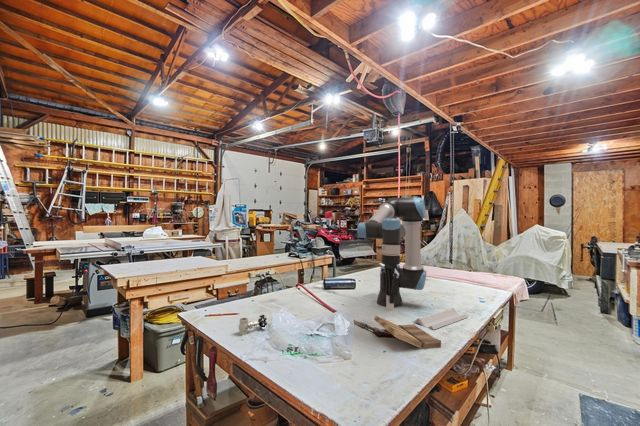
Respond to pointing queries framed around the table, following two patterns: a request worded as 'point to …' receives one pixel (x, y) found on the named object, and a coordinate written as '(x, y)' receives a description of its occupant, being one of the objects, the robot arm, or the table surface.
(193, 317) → the table surface
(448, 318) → the crown molding
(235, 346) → the table surface
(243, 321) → the valve
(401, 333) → the oak plank
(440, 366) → the table surface
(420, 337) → the walnut floor board
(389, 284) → the robot arm
